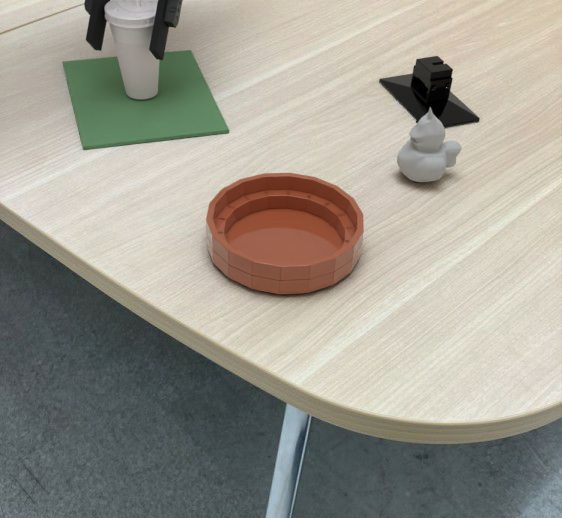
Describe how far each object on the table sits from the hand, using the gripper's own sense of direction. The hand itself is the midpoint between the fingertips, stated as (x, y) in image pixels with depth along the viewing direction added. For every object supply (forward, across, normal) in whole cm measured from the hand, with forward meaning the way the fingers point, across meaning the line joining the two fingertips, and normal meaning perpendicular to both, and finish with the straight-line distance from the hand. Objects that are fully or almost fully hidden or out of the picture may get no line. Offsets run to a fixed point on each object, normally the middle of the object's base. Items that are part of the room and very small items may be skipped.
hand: (124, 49), depth 84 cm
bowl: (+19, -22, +9) cm, 30 cm away
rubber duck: (+8, -34, -3) cm, 35 cm away
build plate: (-4, -33, -14) cm, 36 cm away
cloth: (+3, 0, -8) cm, 8 cm away
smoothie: (+2, 0, -7) cm, 8 cm away
